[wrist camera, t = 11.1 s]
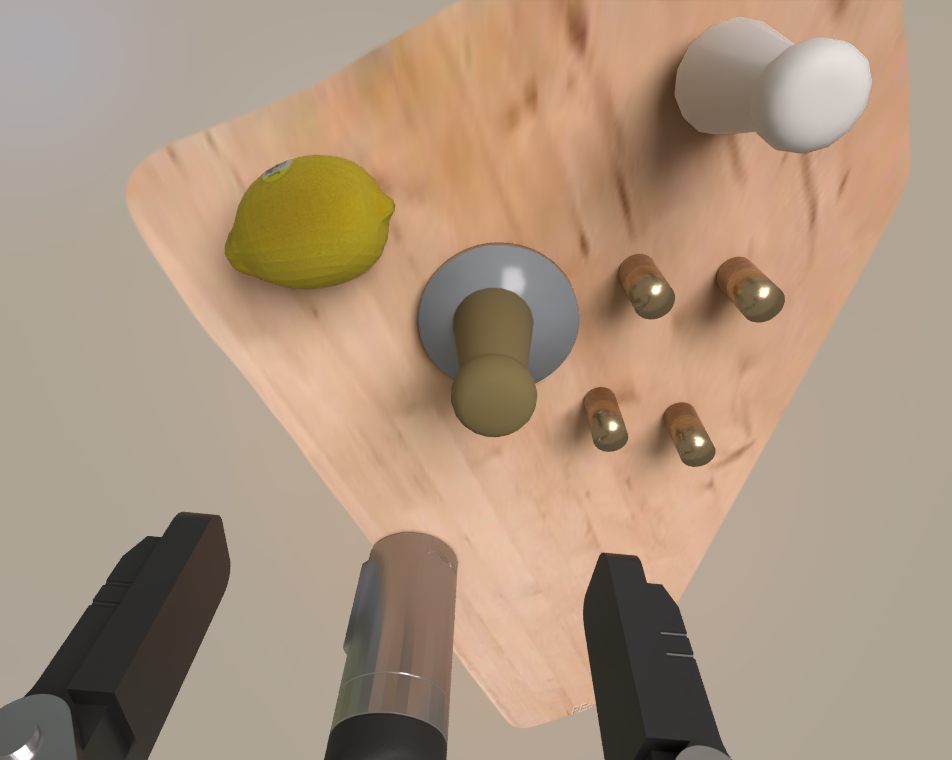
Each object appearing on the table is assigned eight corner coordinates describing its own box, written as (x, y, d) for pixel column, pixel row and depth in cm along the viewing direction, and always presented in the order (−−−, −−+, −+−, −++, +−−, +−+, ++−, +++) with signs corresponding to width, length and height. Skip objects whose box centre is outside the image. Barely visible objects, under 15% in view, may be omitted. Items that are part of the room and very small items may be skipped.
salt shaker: (754, 123, 34) (876, 172, 24) (660, 132, 35) (738, 183, 24) (773, 11, 31) (924, 8, 20) (670, 21, 32) (764, 23, 21)
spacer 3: (672, 432, 48) (690, 471, 44) (658, 412, 47) (674, 451, 43) (700, 417, 47) (721, 456, 43) (686, 397, 46) (706, 435, 42)
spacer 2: (630, 294, 41) (646, 326, 37) (611, 268, 40) (626, 297, 36) (661, 274, 40) (682, 304, 36) (644, 247, 39) (662, 274, 35)
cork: (545, 343, 42) (560, 434, 33) (472, 369, 44) (468, 464, 34) (516, 274, 39) (523, 354, 30) (439, 305, 41) (424, 390, 31)
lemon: (393, 134, 35) (370, 161, 29) (415, 251, 40) (400, 299, 33) (230, 156, 36) (172, 187, 30) (270, 268, 40) (226, 318, 34)
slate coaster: (484, 408, 47) (484, 415, 46) (386, 306, 42) (384, 312, 41) (607, 331, 43) (609, 337, 42) (515, 207, 38) (515, 212, 37)
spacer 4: (725, 297, 41) (752, 329, 37) (709, 271, 40) (735, 301, 36) (759, 277, 40) (791, 307, 36) (744, 249, 39) (775, 277, 35)
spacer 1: (594, 417, 47) (604, 456, 43) (578, 398, 46) (586, 435, 42) (621, 402, 46) (634, 440, 42) (605, 381, 45) (616, 419, 41)
